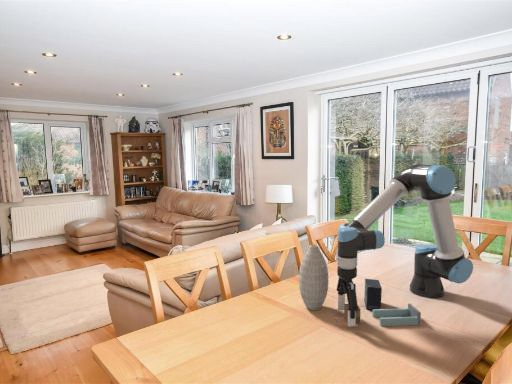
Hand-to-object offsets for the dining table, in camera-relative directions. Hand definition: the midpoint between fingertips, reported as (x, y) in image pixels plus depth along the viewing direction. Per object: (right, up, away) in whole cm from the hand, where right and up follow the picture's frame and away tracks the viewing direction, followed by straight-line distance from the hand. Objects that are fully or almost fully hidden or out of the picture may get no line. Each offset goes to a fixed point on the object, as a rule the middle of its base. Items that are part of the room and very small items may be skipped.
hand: (346, 317), depth 143 cm
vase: (-11, -1, +14) cm, 18 cm away
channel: (+20, -2, +1) cm, 20 cm away
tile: (0, -2, 0) cm, 2 cm away
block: (+2, -1, 0) cm, 3 cm away
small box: (+16, 0, +16) cm, 22 cm away
